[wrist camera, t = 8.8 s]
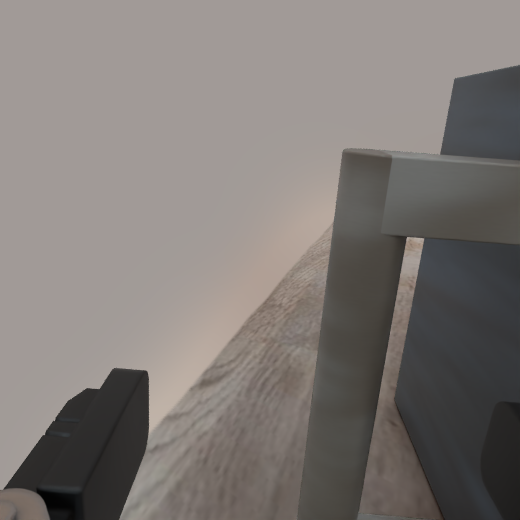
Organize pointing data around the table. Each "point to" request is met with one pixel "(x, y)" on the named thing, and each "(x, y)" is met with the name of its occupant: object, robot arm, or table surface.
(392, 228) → the door
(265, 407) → the table surface
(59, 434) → the robot arm
